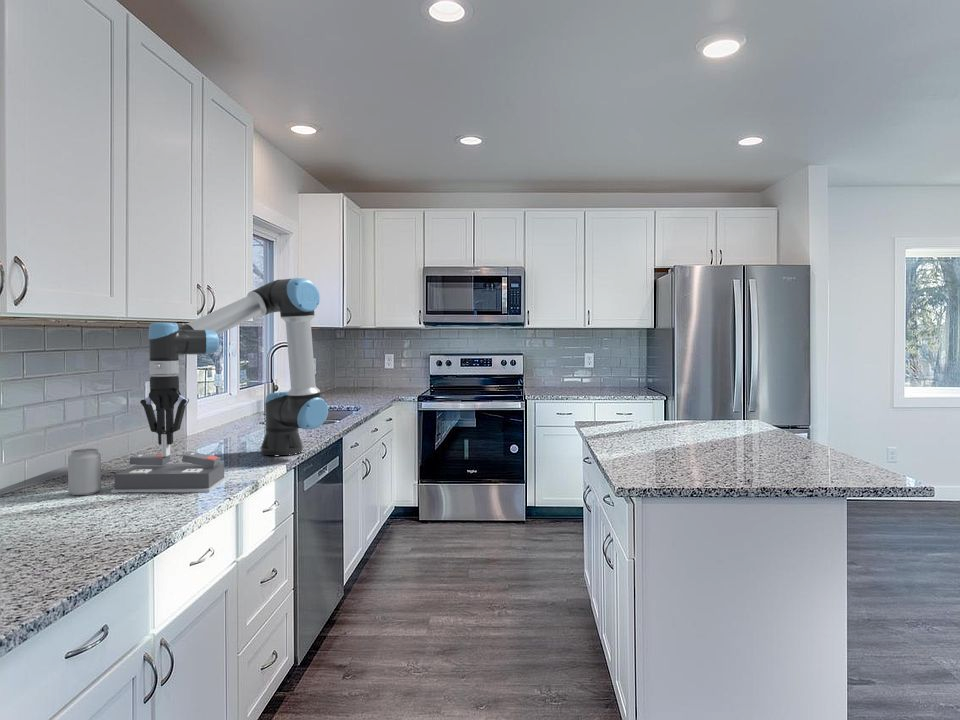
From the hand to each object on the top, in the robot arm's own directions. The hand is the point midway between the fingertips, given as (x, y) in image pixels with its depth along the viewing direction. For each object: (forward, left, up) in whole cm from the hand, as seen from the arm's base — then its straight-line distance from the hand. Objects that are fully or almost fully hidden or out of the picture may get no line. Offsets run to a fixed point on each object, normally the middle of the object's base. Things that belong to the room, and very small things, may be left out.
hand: (166, 455), depth 168 cm
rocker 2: (0, +10, -2) cm, 10 cm away
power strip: (+2, +2, -9) cm, 9 cm away
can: (+9, -18, -9) cm, 22 cm away
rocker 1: (0, -4, -2) cm, 5 cm away
